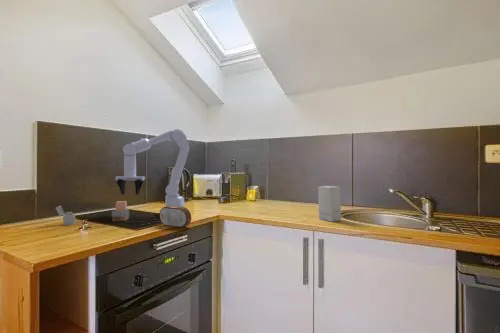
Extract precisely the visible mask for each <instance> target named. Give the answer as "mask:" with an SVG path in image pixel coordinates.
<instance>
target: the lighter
mask: <svg viewBox="0 0 500 333" xmlns="http://www.w3.org/2000/svg"><path fill="white" fill-rule="evenodd" d="M55 210H56V211H57V215H59V217H62V220H63V222H62V223H63V226H69V225H70V226H75V225H76V214H75V213H73V212H72V211H66V213H65V212H64V210H63V208H62V205H59V206H56V207H55Z"/></svg>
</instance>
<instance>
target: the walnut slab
mask: <svg viewBox="0 0 500 333" xmlns="http://www.w3.org/2000/svg"><path fill="white" fill-rule="evenodd" d="M111 217H112V219H111V220H112V222H127V221H128V220H129V219H130V214H129V215H127V216H123V217H114V216H111Z"/></svg>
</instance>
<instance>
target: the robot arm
mask: <svg viewBox="0 0 500 333" xmlns="http://www.w3.org/2000/svg"><path fill="white" fill-rule="evenodd" d="M165 141H170V142H173V141H174V142H175V143H176V144H177V145H178V147H179V153H178V155H177V158H176V162H175V166H174V168H173V172H172V175H171V178H170V181H169V183H168V185H166V188H165V194H166V195H165V197H164V198H165V199H164V200H165V202H164V203H165V206H164V207H166V206H169V205H170V206H180V207H185V198H184V196H180V194H179V190H180V189H179V188H180V187H179V184H180V182H181V181H180V180H181V178H182V174H183V171H184V168H185V165H186V161H187V158H188V155H189V151H190V149H191V148H190V144H189V141H188V139H187V135H186V134H185V132H184V131H183V130H182V129H179V128H176V129H174V130H169V131H167V132H166V131H165V132H163V133H161V134H159V135H157V136H154V137H152V138H150V139H148V138H146V137H145V138H143V137H141V138H140V140H137V141H135V142H134V141H131V143H127V144H125V145H124V146H122V151H123V154H124V156H123V176H118V175H117V176H115V181H116V185H117V186H118V187H119V190H120V195H121V196H122V195H125V193H126V183H127V181H134V186H135V187H134V188H135V195H136V196H138V195H140V191H141V188H142V186H143V184H144V183H145V180H146V177H145V176H141V175H140V176H139V175H137V157H136V156H137V153H138V154H139V153H142V152H145V151H148V150H149V149H151V147H152V145H156V144H159V143H162V142H165Z"/></svg>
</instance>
